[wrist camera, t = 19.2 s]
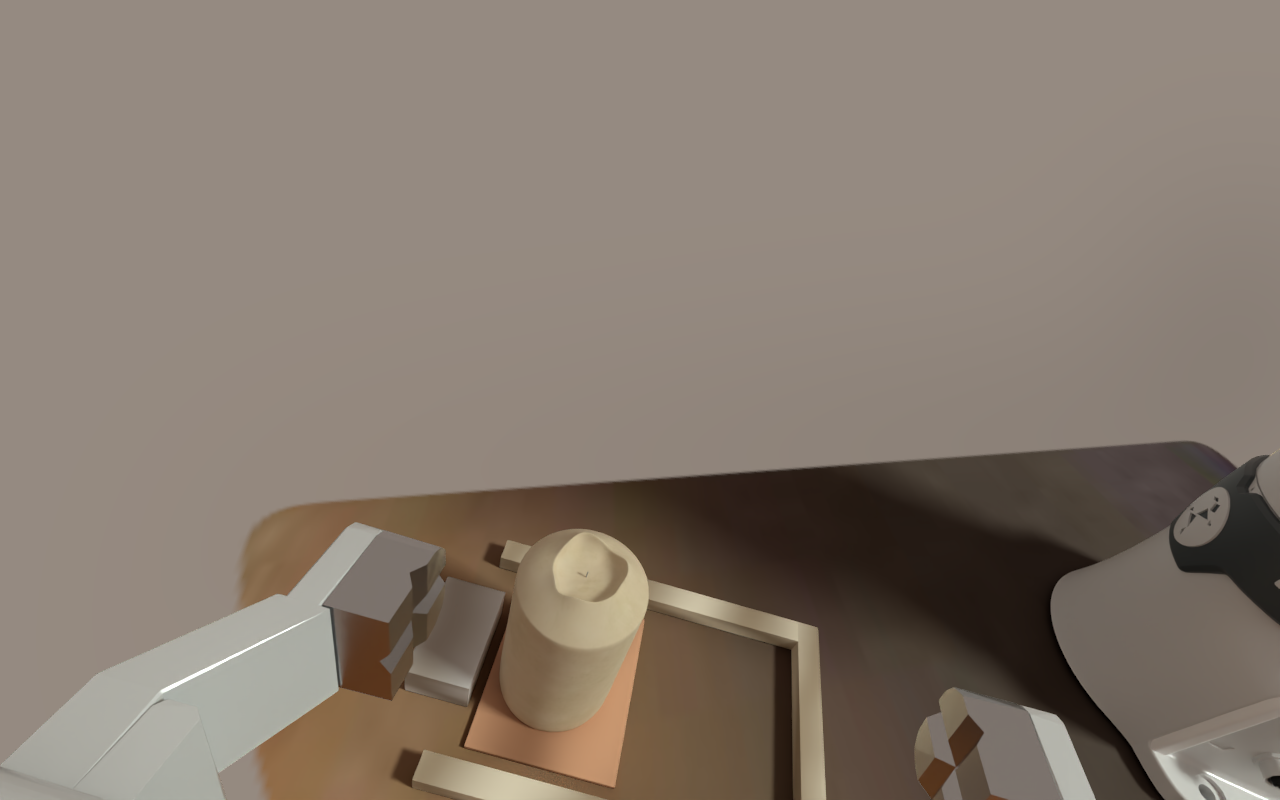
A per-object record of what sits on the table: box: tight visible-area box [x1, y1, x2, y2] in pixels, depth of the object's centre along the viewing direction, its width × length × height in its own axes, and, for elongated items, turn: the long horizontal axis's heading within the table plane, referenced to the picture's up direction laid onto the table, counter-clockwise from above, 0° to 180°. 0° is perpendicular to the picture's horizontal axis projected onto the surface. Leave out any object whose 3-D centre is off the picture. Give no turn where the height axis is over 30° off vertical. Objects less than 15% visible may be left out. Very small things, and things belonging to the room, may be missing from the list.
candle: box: [499, 529, 649, 732], centre depth 29 cm, size 6×6×10 cm
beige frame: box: [405, 540, 826, 800], centre depth 31 cm, size 20×12×2 cm, turn 80°
